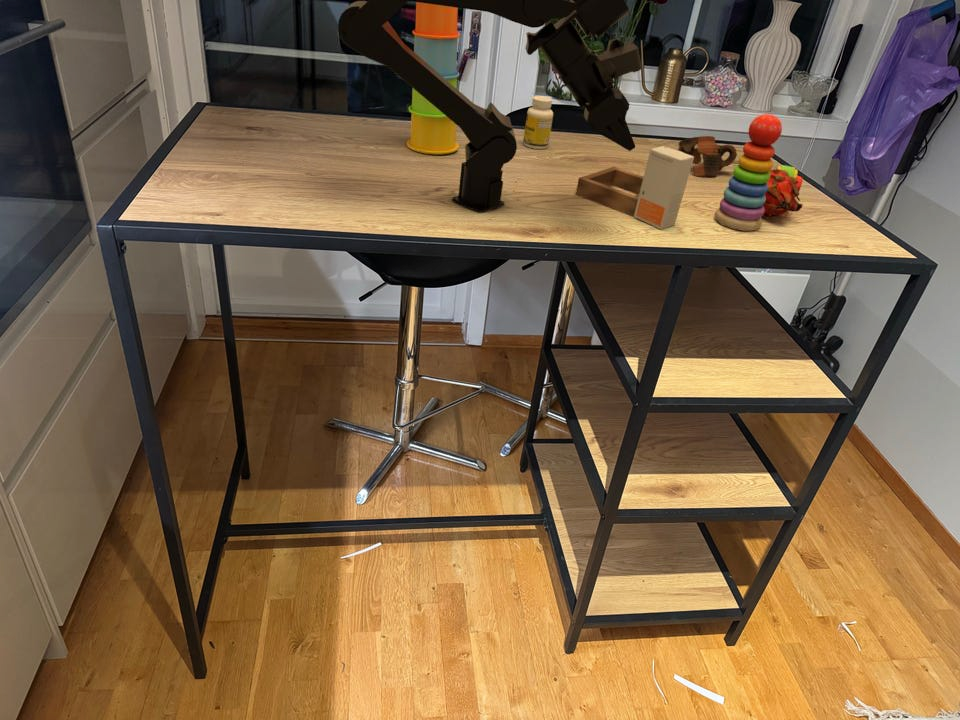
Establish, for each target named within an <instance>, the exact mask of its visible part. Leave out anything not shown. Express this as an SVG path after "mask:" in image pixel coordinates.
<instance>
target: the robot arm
mask: <svg viewBox="0 0 960 720" xmlns="http://www.w3.org/2000/svg"><path fill="white" fill-rule="evenodd" d="M409 2H414V3H415V2H421V3H428V4H435V5H442V6H449V7H457V8H458V9H464V10H472V11H477V12H479V11H480V12H485V13H490V14H493V15H496V16H498V17H500V18H503V19H506V20H509V21H511V22H513V23H517V24H519V25H523V26H526V27H529V28H531V29H532V28H534V29H535V28H540V27H541V28H540V29H539V30H538V31H536V32H529V31H527V32H526V44H525V50H526V51H525V52H526V54H527V55H529V56H531V55H533V53H535V52H536V51H538V49H540V51H541V52H542V54H544V56H545V58H546V59H547V61H548V62H549V64H550V65H551V66H552V68H553V69H554V71H555V72H556V74H557V75H558V77H559V78H560V80H561V82H562V83H563V84H564V86H565V87H566V88H567V89H568V91H569V92H570V93H571V96H572V97H573V99H574V100H575V102H576V103H577V105H578V106H579V107H580V108H581V109H582V111H584V114H583V117H584V119H585V121H586V123H587V124H588V125H589V128H591V130H592V132H594V133H596V134H598V135H601V136H603V137H605V139H608V140H610V141H612V142H613V143H615V144H617V145H618V146H621V147H622V148H623V149H625V150H627V151H629V152H630V151H633V150H635V148H636V145H635V141H634V139H633V136H632V134H631V131H630V128H629V126H628V123H627V121H626V118H627V117H626V116H627V113H628V111H629V110H630V102H629V101H628V99H627V98H626V96H625V95H624V93H623V91H621V90H620V88H618V87H617V88H615V86H614V84H615V81H614V79H615V78H618V77H622V76H624V75H627V74H630V73H637V72H639V71H641V70H642V68H643V67H642V63H641V57H640V54H639V53H640V52H639V47H638V46H637V45H636V44H635V43H633V42H632V43H630V42H627V43H626V44H624V43H623V42H622V40H621V39H620V37H616V38H613V39H610V40H608V44H607V49H606V50H603V53H600V54H598V55H597V54H596V53H595V51H594V50H593V49H590V48H589V47H588V45H587V43H586V42H585V41H584V38H583V37H582V36H581V34H580V33H579V31H578V29H577V28H576V27H575V25H574V24H573V22H572V21H573V20H575V21H576V23H577V24H578V26H579V27H580V29H581V30H582V32H583V33H584V34H585V36H586V37H587V38H588V37H589V36H592V37H594V36H595V37H596V38H599V37H601V36H602V35H603V34H604V33H605V32H607V31H608V30H609V29H610V28H611V27H613V26H614V25H615V24H617V22H619V21H620V20H622V19H623V18H624V17H625V16H627V14H629V13H630V9H629V7H628V5H627V3H626V1H625V0H357V1H354V2H352V3H350V4H349V5H348V6H347V8H346V9H345V10H343V12H342V13H341V14H340V17H339V19H338V23H337V30H338V34H339V38H340V39H341V41H342V43H344V45H346V46H347V47H349V49H351V50H353V51H355V52H357V53H358V54H360V55H362V56H363V57H365V58H366V59H368V60H371V61H374V62H375V63H378V64H381V65H383V66H385V67H387V68H388V69H390V71H392V72H393V73H395V74H396V75H397V76H398V77H399V78H401V80H403V81H404V83H406V84H407V85H409V86H410V87H411V88H413V89H415V90H416V91H417V92H418V93H419V94H421V95H422V96H423V97H424V98H425V99H427V100H428V101H429V102H430V103H431V104H433V105H434V106H435V107H436V108H437V109H439V110H440V111H441V112H442V113H443V114H445V115H446V116H447V117H448V118H449V119H451V120H452V121H453V122H454V123H455V124H456V126H457V127H458V128H460V130H461V131H462V132H463V134H464V135H465V137H466V139H468V143H466V144H465V147H464V149H465V161H464V162H461V168H460V176H459V185H458V186H459V187H458V188H459V189H458V195H455V196H452V197H451V201H452V202H454V203H457V204H459V205H461V206H462V207H463V206H464V207H465V208H468V209H470V210H473V211H474V212H478V213H483V212H487V211H490V210H493V209H496V208H498V207H502V206H504V205H505V201H504V200H502V193H503V185H504V180H502V177H503V174H504V173H503V172H504V171H503V170H502V169H503V167H504V165H505V164H507V163H509V162H510V161H511V160H513V159H514V157H515V155H516V153H517V150H518V144H517V139H516V135H515V132H514V128H513V126H512V122H511V119H510V118H511V117H510V116H507V115H505V114H503V113H501V111H499V110H498V109H497V106H496V105H495V104H493V102H489V104H488V105H487V107H486V108H484V107H483V106H479V105H478V104H475V103H474V102H473V101H471V100H470V99H469V98H468V97H467V96H465V95H464V93H462V92H460V91H459V89H458V88H457V89H456V88H455V87H454V86H453V85H452V84H450V83H449V82H448V81H447V80H446V79H445V78H443V77H442V76H441V75H440V74H439V73H438V72H436V71H435V70H434V69H433V68H432V67H431V66H429V65H428V64H427V63H426V62H425V61H424V60H422V59H421V58H420V57H419V56H418V55H417V54H416V53H414V50H412V49H411V48H410V47H409V46H408V45H406V44H405V43H404V41H403V40H402V38H400V36H399V35H398V33H397V32H396V30H395V29H394V28H393V27H392V25H391V23H390V22H389V20H390V19H391V18H392V17H393V16H394V15H396V13H397V12H398V11H399V10H401V9H402V8H403V7H404V6H405V5H406V4H407V3H409ZM553 19H559V20H558V21H557V22H556V23H554V24H553V22H552V20H553Z"/></svg>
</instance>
